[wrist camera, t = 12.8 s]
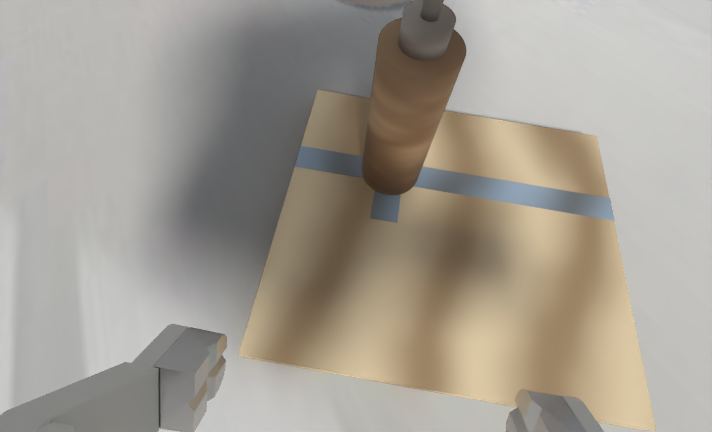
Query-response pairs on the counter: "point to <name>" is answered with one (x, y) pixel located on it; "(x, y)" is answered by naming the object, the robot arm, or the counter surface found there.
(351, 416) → the counter surface
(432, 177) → the plywood panel
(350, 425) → the counter surface
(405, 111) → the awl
